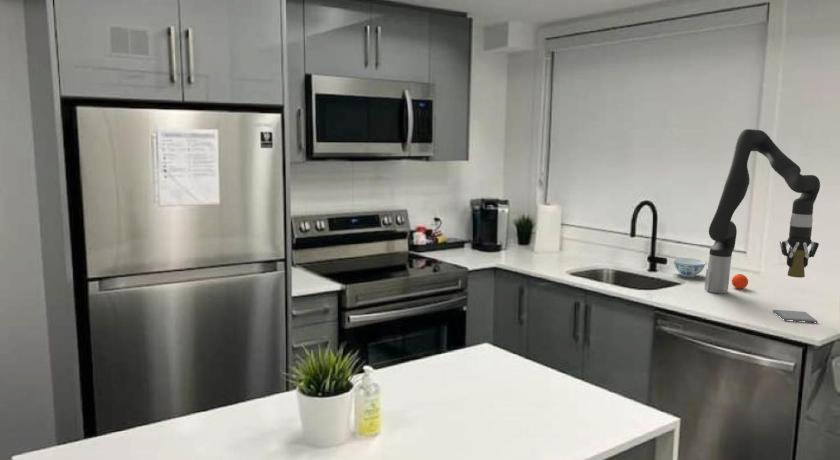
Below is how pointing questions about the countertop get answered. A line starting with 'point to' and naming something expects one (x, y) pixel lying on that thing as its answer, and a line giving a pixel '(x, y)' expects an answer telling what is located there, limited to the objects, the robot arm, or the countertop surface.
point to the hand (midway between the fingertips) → (796, 266)
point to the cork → (797, 264)
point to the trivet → (794, 315)
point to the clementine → (739, 281)
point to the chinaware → (688, 266)
